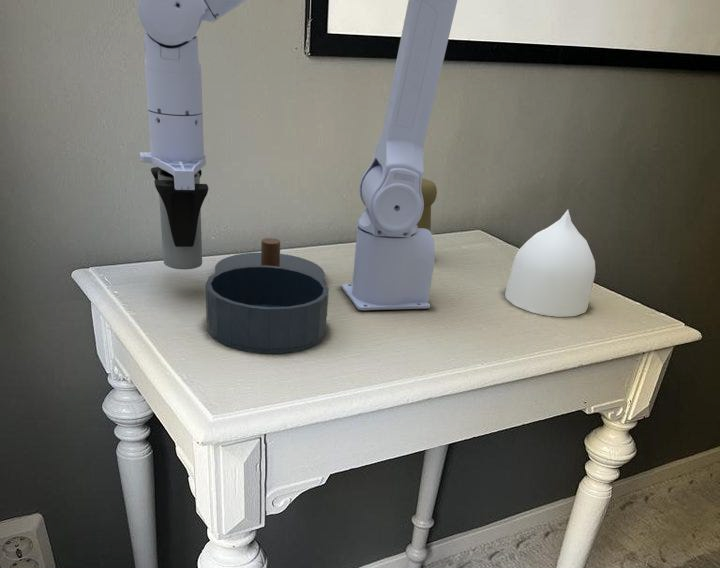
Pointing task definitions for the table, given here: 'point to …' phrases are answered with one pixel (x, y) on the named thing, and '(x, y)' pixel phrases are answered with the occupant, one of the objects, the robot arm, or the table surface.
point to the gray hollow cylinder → (172, 254)
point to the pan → (266, 309)
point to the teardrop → (553, 272)
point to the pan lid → (271, 259)
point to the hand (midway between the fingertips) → (181, 239)
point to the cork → (427, 203)
